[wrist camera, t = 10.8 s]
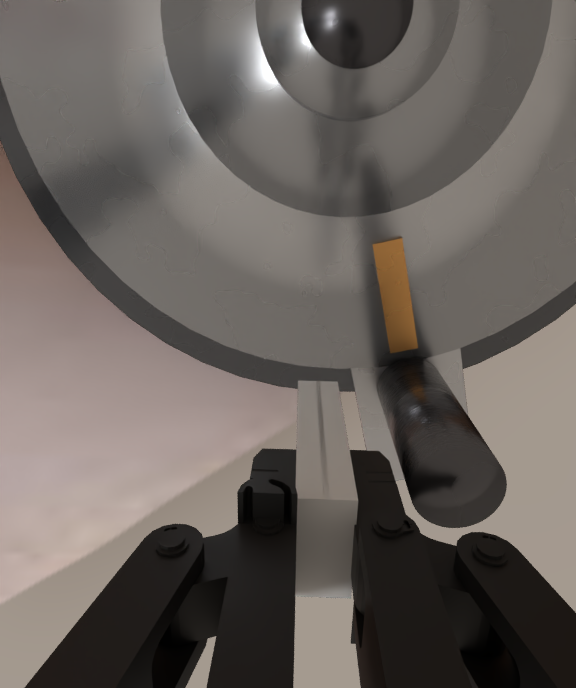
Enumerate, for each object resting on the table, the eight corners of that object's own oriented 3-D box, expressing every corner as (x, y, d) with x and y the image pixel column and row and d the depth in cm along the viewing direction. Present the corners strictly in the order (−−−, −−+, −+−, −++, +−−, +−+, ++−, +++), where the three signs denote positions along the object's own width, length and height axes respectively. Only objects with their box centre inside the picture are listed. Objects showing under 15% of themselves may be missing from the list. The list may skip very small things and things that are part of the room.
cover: (353, 263, 17) (369, 294, 13) (136, 76, 15) (70, 40, 11) (561, 27, 14) (667, -33, 10) (328, -227, 13) (339, -426, 8)
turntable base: (160, 454, 23) (157, 460, 22) (-186, -248, 15) (-202, -262, 15) (763, 275, 19) (774, 278, 19) (719, -774, 11) (737, -815, 11)
